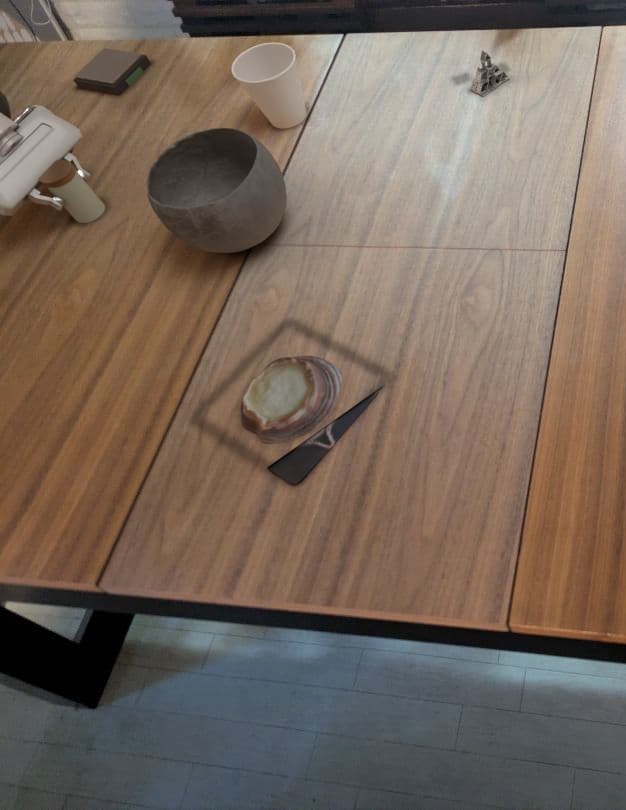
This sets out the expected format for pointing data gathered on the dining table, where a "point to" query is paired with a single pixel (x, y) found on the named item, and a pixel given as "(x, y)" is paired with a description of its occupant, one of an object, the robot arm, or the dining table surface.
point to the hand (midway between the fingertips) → (75, 193)
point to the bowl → (218, 190)
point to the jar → (72, 191)
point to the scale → (112, 71)
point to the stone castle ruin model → (487, 76)
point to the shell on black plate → (297, 411)
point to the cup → (272, 82)
